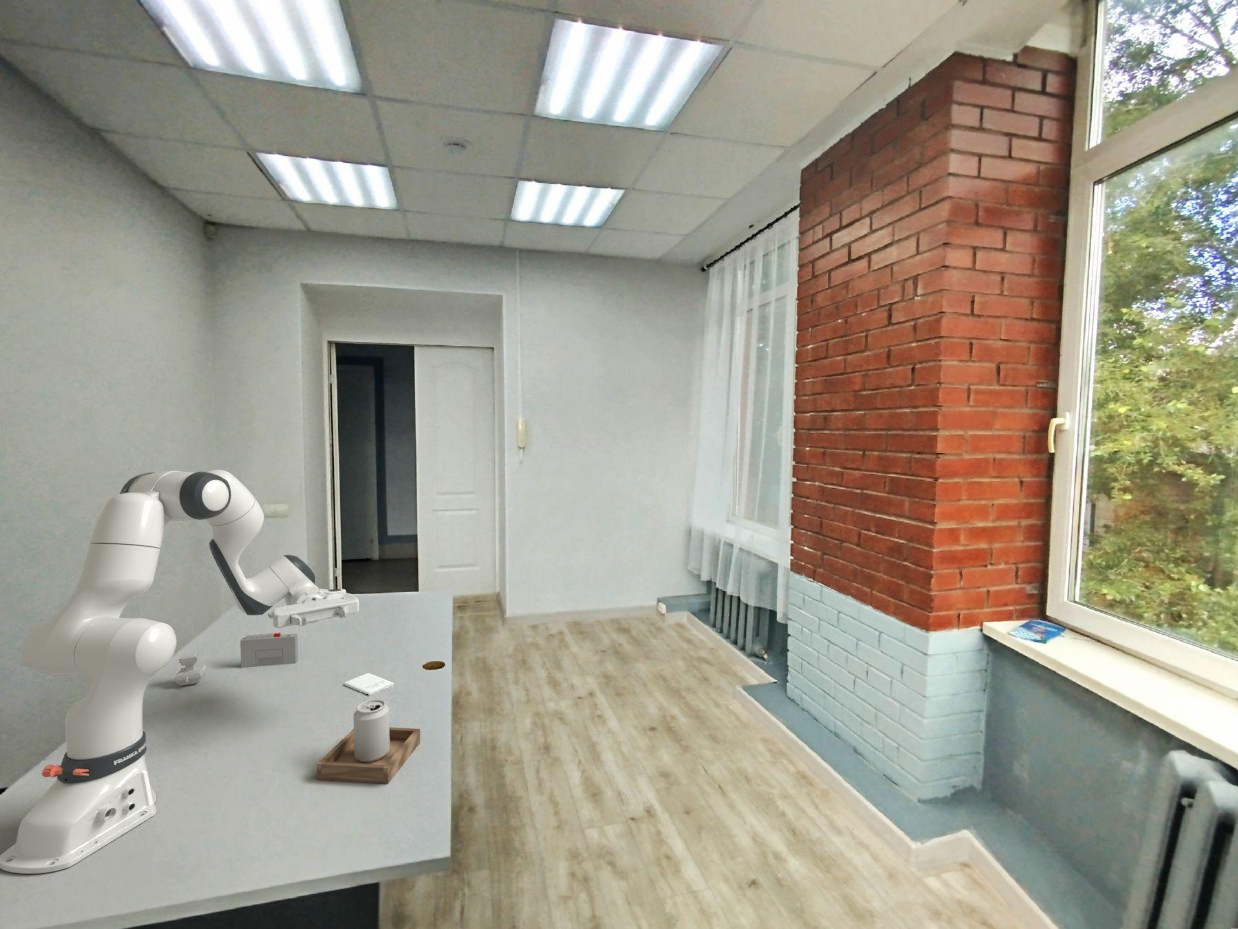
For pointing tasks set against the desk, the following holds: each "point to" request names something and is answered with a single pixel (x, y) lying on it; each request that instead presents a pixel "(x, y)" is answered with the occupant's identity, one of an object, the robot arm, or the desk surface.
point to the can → (371, 730)
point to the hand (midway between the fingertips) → (323, 618)
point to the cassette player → (269, 649)
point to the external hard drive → (368, 683)
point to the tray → (348, 768)
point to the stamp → (189, 670)
